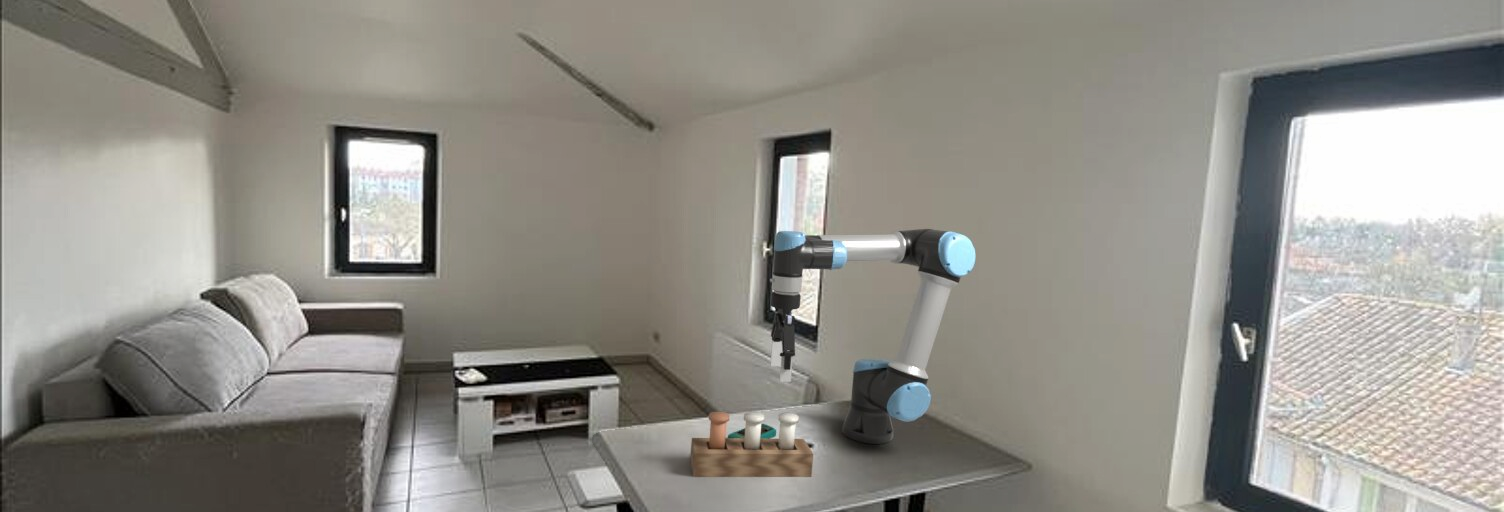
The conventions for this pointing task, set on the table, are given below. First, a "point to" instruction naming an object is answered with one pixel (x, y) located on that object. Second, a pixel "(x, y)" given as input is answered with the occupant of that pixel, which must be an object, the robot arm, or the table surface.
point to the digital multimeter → (766, 433)
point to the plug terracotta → (718, 430)
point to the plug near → (787, 430)
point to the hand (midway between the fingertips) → (780, 373)
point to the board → (750, 459)
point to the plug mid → (752, 430)
